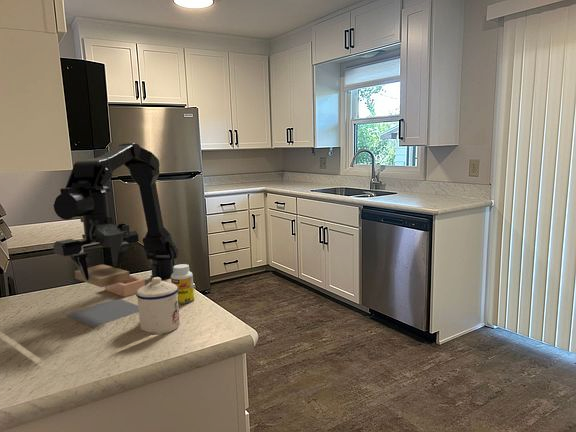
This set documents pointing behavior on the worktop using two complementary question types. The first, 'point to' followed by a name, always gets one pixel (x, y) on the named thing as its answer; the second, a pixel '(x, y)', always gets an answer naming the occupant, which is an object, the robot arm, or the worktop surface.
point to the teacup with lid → (158, 307)
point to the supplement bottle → (183, 283)
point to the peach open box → (126, 286)
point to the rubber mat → (104, 312)
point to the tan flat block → (103, 275)
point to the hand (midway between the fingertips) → (102, 275)
